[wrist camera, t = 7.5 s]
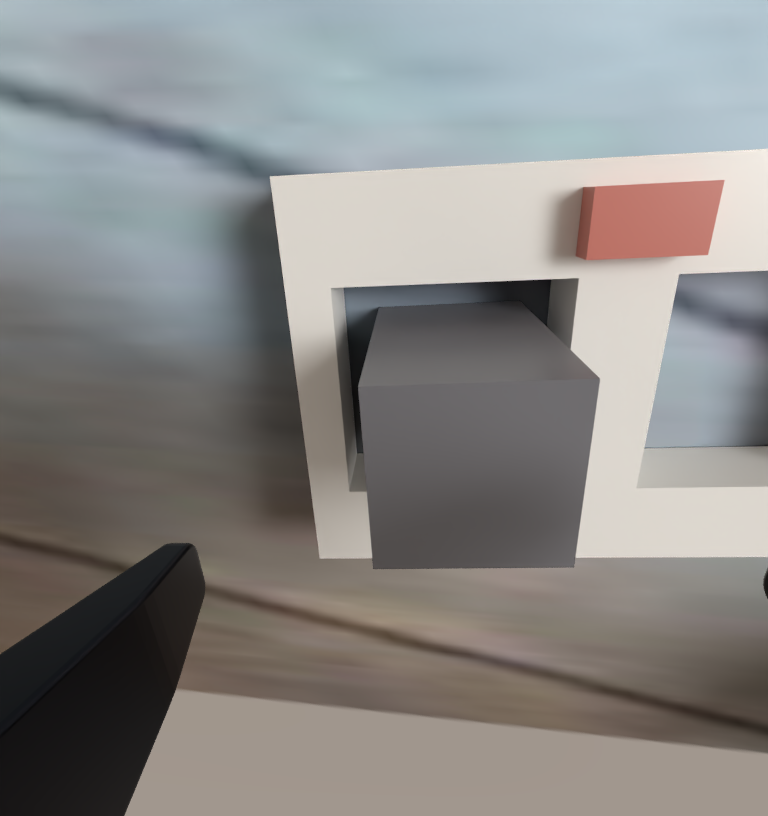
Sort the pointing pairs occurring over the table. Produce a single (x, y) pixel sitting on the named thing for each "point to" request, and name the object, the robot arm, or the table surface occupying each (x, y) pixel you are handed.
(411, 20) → the table surface
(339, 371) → the faceplate
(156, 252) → the table surface
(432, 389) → the plug
